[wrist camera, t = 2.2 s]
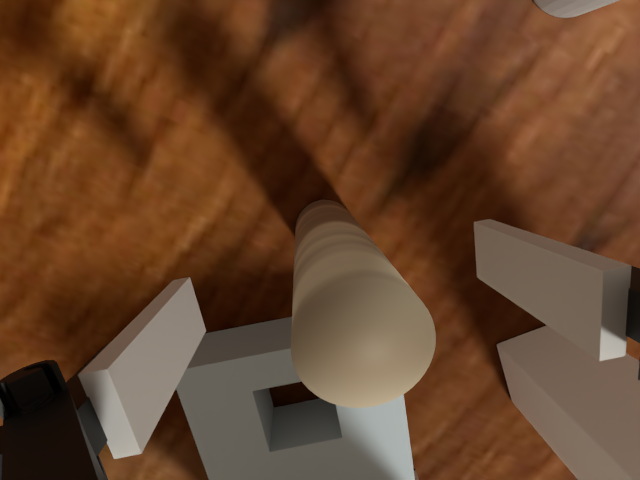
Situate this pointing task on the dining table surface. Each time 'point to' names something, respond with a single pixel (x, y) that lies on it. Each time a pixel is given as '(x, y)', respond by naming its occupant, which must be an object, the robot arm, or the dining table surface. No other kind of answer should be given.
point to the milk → (577, 403)
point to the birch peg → (353, 314)
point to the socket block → (282, 416)
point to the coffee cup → (570, 6)
